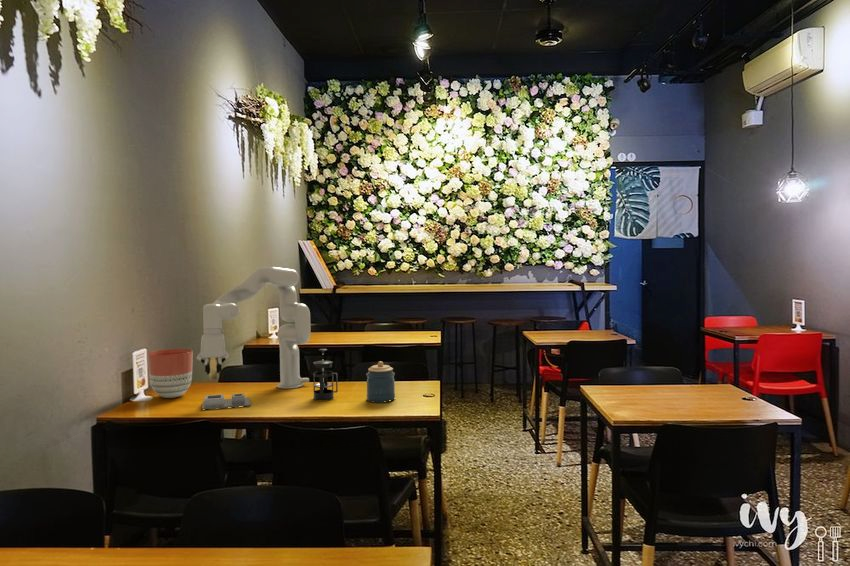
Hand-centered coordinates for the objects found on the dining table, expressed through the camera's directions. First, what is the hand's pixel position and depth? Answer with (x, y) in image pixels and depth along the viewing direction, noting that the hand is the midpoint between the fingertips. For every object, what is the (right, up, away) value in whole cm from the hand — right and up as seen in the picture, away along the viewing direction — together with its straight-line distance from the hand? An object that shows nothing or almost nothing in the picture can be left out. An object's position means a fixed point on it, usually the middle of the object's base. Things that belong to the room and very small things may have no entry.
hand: (213, 372), depth 255 cm
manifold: (+5, -14, +2) cm, 15 cm away
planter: (-26, -14, +18) cm, 35 cm away
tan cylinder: (0, -2, 0) cm, 2 cm away
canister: (+73, -14, +9) cm, 75 cm away
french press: (+47, -14, +13) cm, 50 cm away
